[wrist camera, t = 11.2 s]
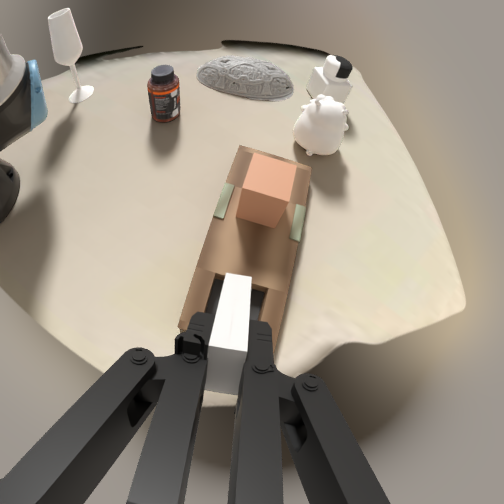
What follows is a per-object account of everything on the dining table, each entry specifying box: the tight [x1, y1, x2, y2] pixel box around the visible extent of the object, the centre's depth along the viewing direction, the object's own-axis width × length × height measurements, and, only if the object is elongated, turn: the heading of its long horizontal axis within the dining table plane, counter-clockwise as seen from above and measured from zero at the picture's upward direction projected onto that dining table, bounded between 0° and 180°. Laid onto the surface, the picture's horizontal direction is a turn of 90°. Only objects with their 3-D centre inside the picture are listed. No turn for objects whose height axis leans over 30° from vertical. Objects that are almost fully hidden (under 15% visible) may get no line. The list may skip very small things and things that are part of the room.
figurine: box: [293, 94, 349, 156], centre depth 48 cm, size 10×10×12 cm
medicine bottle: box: [306, 55, 353, 104], centre depth 54 cm, size 7×7×12 cm
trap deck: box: [178, 145, 312, 353], centre depth 43 cm, size 13×31×3 cm, turn 166°
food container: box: [197, 56, 293, 101], centre depth 56 cm, size 16×25×7 cm, turn 82°
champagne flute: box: [48, 8, 94, 103], centre depth 40 cm, size 7×7×24 cm
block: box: [236, 153, 297, 228], centre depth 39 cm, size 6×6×8 cm
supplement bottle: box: [147, 65, 180, 122], centre depth 46 cm, size 6×6×11 cm
